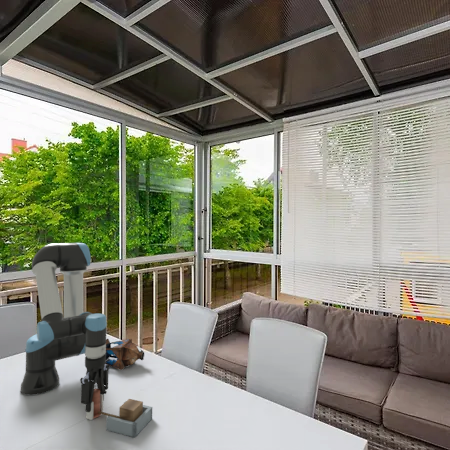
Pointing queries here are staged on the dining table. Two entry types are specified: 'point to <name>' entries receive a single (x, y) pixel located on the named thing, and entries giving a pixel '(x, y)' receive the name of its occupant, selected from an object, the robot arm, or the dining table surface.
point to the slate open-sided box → (129, 423)
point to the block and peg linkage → (126, 412)
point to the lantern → (122, 353)
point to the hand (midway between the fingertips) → (94, 414)
